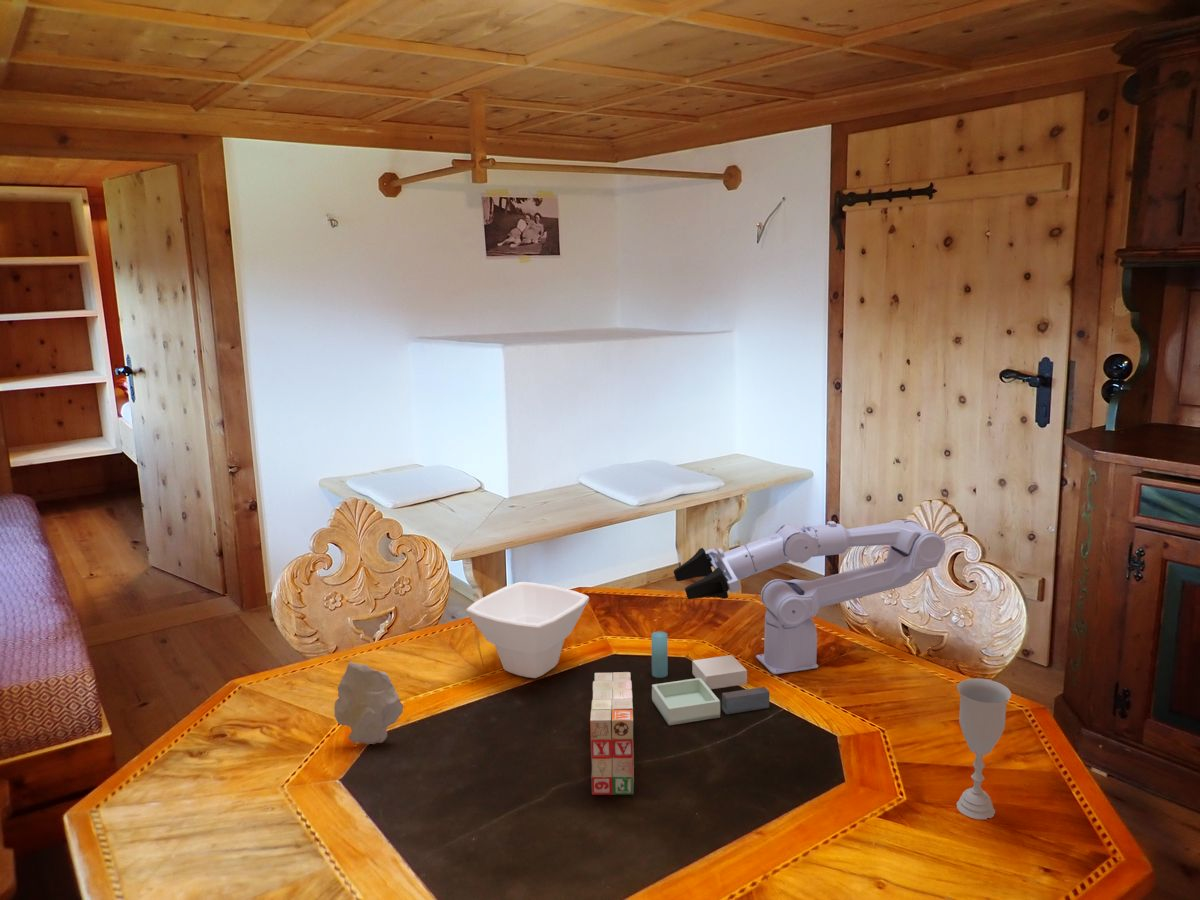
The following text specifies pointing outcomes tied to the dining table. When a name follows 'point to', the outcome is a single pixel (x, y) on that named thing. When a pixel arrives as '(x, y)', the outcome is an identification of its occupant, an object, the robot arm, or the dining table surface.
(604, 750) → the stack of blocks
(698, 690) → the tray
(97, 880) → the dining table surface
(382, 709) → the stone tool
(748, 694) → the bench dog
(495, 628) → the bowl
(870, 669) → the dining table surface
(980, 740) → the chalice
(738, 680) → the pale grey box
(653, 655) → the dowel
